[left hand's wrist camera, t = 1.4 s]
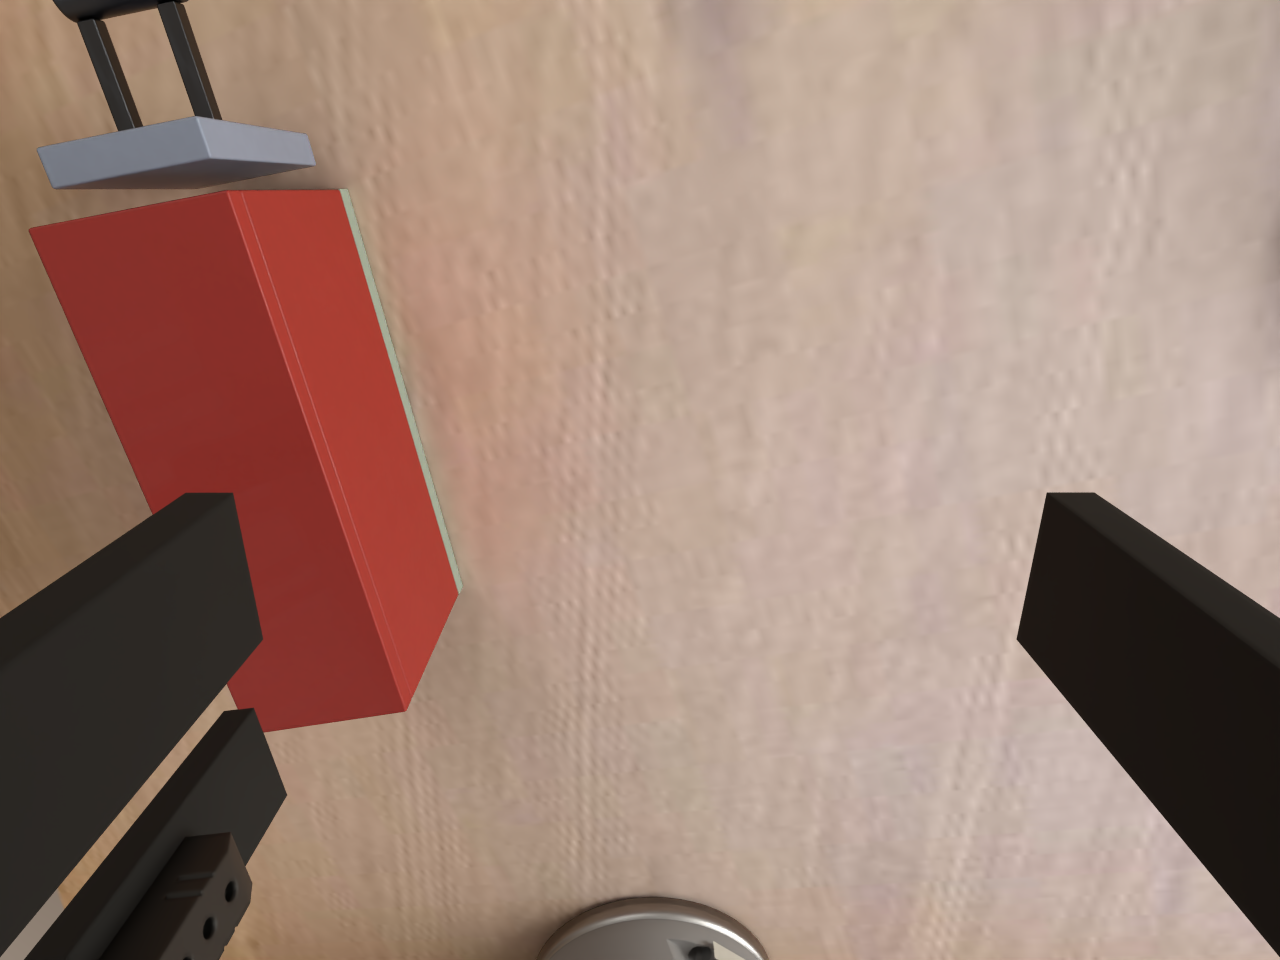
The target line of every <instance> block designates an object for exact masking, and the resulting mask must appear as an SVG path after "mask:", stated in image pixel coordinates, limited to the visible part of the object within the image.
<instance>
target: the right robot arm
mask: <svg viewBox="0 0 1280 960" xmlns="http://www.w3.org/2000/svg"><path fill="white" fill-rule="evenodd" d="M286 796H287V793H286V791H285V788H284V786H283V783H282V780H281V778H280V775H279V772H278V770H277V767H276V765H275V762H274V759H273V757H272V754H271V751H270V749H269V746H268V744H267V741H266V738H265V736H264V733H263V730H262V728H261V725H260V723H259V720H258V717H257V715H256V712H255V709H254V708H246V709H238V710H230V711H224V712H223V713H222V714H221V716H220V717H219V718H218V719H217V721H216V722H215V723H214V724H213V725H212V727H211V728H210V729H209V730H208V732H207V733H206V734H205V735H204V737H203V738H202V739H201V740H200V742H199V743H198V744H197V745H196V747H195V748H194V749H193V750H192V752H191V753H190V754H189V755H188V757H187V758H186V759H185V760H184V762H183V763H182V764H181V765H180V766H179V768H178V769H177V770H176V771H175V773H174V774H173V775H172V776H171V778H170V779H169V780H168V781H167V783H166V784H165V785H164V786H163V788H162V789H161V790H160V791H159V793H158V794H157V795H156V796H155V798H154V799H153V800H152V801H151V803H150V804H149V805H148V806H147V808H146V809H145V810H144V811H143V812H142V814H141V815H140V816H139V817H138V819H137V820H136V821H135V822H134V824H133V825H132V826H131V827H130V829H129V830H128V831H127V832H126V834H125V835H124V836H123V837H122V839H121V840H120V841H119V842H118V844H117V845H116V846H115V847H114V849H113V850H112V851H111V852H110V854H109V855H108V856H107V857H106V858H105V860H104V861H103V862H102V863H101V865H100V866H99V867H98V868H97V870H96V871H95V872H94V873H93V875H92V876H91V877H90V878H89V880H88V881H87V882H86V883H85V885H84V886H83V887H82V888H81V890H80V891H79V892H78V893H77V895H76V896H75V897H74V898H73V900H72V901H71V902H70V903H69V904H68V906H67V907H66V908H65V909H64V911H63V912H62V913H61V914H60V916H59V917H58V918H57V920H56V921H55V922H54V923H53V924H52V926H51V927H50V928H49V929H48V931H47V932H46V933H45V934H44V936H43V937H42V938H41V939H40V941H39V942H38V943H37V944H36V945H35V947H34V948H33V949H32V951H31V952H30V953H29V954H28V955H27V957H26V958H25V959H24V960H219V959H220V957H221V955H222V953H223V951H224V946H226V945H227V944H228V942H229V940H230V939H231V937H232V935H233V933H234V931H235V927H236V926H238V924H239V922H240V920H241V919H242V917H243V915H244V913H245V911H246V910H247V908H248V906H249V904H250V900H251V890H252V881H251V879H250V877H249V874H248V872H247V870H246V867H245V866H246V864H247V863H248V861H249V859H250V857H251V856H252V854H253V852H254V851H255V849H256V847H257V846H258V844H259V842H260V840H261V839H262V837H263V835H264V834H265V832H266V830H267V829H268V827H269V825H270V823H271V822H272V820H273V818H274V817H275V815H276V813H277V812H278V810H279V808H280V806H281V805H282V803H283V801H284V800H285V798H286ZM537 960H769V958H768V956H767V954H766V952H765V950H764V948H763V946H762V945H761V944H760V942H759V941H758V939H757V938H756V937H755V936H754V935H753V934H752V933H751V932H750V931H749V930H748V929H747V928H746V927H744V926H743V925H742V924H740V923H739V922H738V921H736V920H735V919H733V918H731V917H730V916H728V915H726V914H724V913H722V912H720V911H718V910H716V909H713V908H711V907H708V906H705V905H702V904H699V903H695V902H691V901H686V900H681V899H673V898H661V897H644V898H633V899H626V900H620V901H616V902H612V903H608V904H605V905H602V906H599V907H596V908H593V909H591V910H589V911H586V912H584V913H582V914H581V915H579V916H577V917H575V918H573V919H572V920H570V921H569V922H567V923H566V924H565V925H563V926H562V927H561V928H560V929H558V930H557V931H556V932H555V933H554V934H553V935H552V936H551V937H550V939H549V940H548V941H547V942H546V944H545V945H544V947H543V948H542V950H541V951H540V953H539V955H538V958H537Z"/></svg>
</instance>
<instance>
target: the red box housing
mask: <svg viewBox="0 0 1280 960" xmlns="http://www.w3.org/2000/svg"><path fill="white" fill-rule="evenodd" d="M29 233H30V235H31V237H32V240H33V242H34V244H35V247H36V249H37V251H38V253H39V256H40V258H41V260H42V263H43V265H44V267H45V269H46V272H47V274H48V276H49V279H50V281H51V283H52V285H53V288H54V290H55V292H56V295H57V297H58V299H59V302H60V304H61V306H62V308H63V311H64V313H65V315H66V318H67V320H68V322H69V324H70V327H71V329H72V331H73V334H74V336H75V338H76V340H77V343H78V345H79V347H80V350H81V352H82V354H83V356H84V359H85V361H86V363H87V366H88V368H89V370H90V372H91V375H92V377H93V379H94V382H95V384H96V386H97V388H98V391H99V393H100V395H101V398H102V400H103V402H104V404H105V407H106V409H107V411H108V414H109V416H110V418H111V420H112V423H113V425H114V427H115V430H116V432H117V434H118V436H119V439H120V441H121V443H122V446H123V448H124V450H125V452H126V455H127V457H128V459H129V462H130V464H131V466H132V468H133V471H134V473H135V475H136V478H137V480H138V482H139V484H140V487H141V489H142V491H143V494H144V496H145V498H146V500H147V503H148V505H149V507H150V510H151V512H152V514H155V513H156V512H158V511H159V510H161V509H162V508H164V507H165V506H167V505H168V504H170V503H171V502H173V501H174V500H175V499H177V498H178V497H180V496H181V495H183V494H184V493H233V494H234V499H235V504H236V509H237V514H238V519H239V524H240V528H241V533H242V538H243V543H244V548H245V553H246V558H247V562H248V567H249V572H250V577H251V582H252V587H253V591H254V596H255V601H256V606H257V611H258V616H259V621H260V625H261V630H262V635H263V640H262V642H261V643H260V644H259V645H258V646H257V648H256V649H255V650H254V651H253V652H252V654H251V655H250V656H249V657H248V658H247V660H246V661H245V662H244V663H243V665H242V666H241V667H240V668H239V669H238V671H237V672H236V673H235V674H234V675H233V677H232V678H231V679H230V680H229V681H228V683H227V686H228V688H229V690H230V692H231V695H232V697H233V699H234V702H235V704H236V706H237V708H238V709H246V708H254V709H255V712H256V715H257V717H258V720H259V723H260V725H261V728H262V730H263V732H270V731H277V730H284V729H290V728H297V727H304V726H311V725H318V724H324V723H331V722H338V721H345V720H351V719H358V718H365V717H372V716H378V715H385V714H392V713H399V712H405V711H406V710H407V708H408V706H409V704H410V701H411V698H412V697H413V695H414V692H415V690H416V688H417V686H418V683H419V681H420V679H421V677H422V674H423V672H424V670H425V668H426V665H427V663H428V661H429V659H430V656H431V654H432V652H433V650H434V647H435V645H436V643H437V641H438V638H439V636H440V634H441V632H442V629H443V627H444V625H445V623H446V620H447V618H448V616H449V614H450V612H451V609H452V607H453V605H454V603H455V600H456V598H457V596H458V594H460V591H461V589H462V587H463V585H462V581H461V578H460V574H459V571H458V568H457V564H456V561H455V557H454V554H453V550H452V547H451V543H450V540H449V537H448V533H447V530H446V526H445V523H444V519H443V516H442V512H441V509H440V506H439V502H438V499H437V495H436V492H435V488H434V485H433V482H432V478H431V475H430V471H429V468H428V464H427V461H426V457H425V454H424V451H423V447H422V444H421V440H420V437H419V433H418V430H417V426H416V423H415V420H414V416H413V413H412V409H411V406H410V402H409V399H408V395H407V392H406V389H405V385H404V382H403V378H402V375H401V371H400V368H399V365H398V361H397V358H396V354H395V351H394V347H393V344H392V340H391V337H390V334H389V330H388V327H387V323H386V320H385V316H384V313H383V309H382V306H381V303H380V299H379V296H378V292H377V289H376V285H375V282H374V279H373V275H372V272H371V268H370V265H369V261H368V258H367V254H366V251H365V248H364V244H363V241H362V237H361V234H360V230H359V227H358V223H357V220H356V217H355V213H354V210H353V206H352V203H351V199H350V196H349V193H348V189H337V190H225V191H220V192H214V193H209V194H204V195H199V196H194V197H189V198H183V199H178V200H173V201H168V202H163V203H158V204H152V205H147V206H142V207H137V208H132V209H126V210H121V211H116V212H111V213H106V214H101V215H95V216H90V217H85V218H80V219H75V220H70V221H64V222H59V223H54V224H49V225H44V226H39V227H33V228H30V229H29Z"/></svg>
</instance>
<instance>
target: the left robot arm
mask: <svg viewBox="0 0 1280 960" xmlns="http://www.w3.org/2000/svg"><path fill="white" fill-rule="evenodd" d="M262 640H263V635H262V630H261V625H260V621H259V616H258V611H257V606H256V601H255V596H254V591H253V587H252V582H251V577H250V572H249V567H248V562H247V558H246V553H245V548H244V543H243V538H242V533H241V528H240V524H239V519H238V514H237V509H236V504H235V499H234V494H233V493H184V494H183V495H181V496H180V497H178V498H177V499H175V500H174V501H173V502H171V503H170V504H168V505H167V506H165V507H164V508H162V509H161V510H159V511H158V512H156V513H155V514H153V515H152V516H150V517H149V518H147V519H146V520H145V521H143V522H142V523H140V524H139V525H137V526H136V527H134V528H133V529H131V530H130V531H128V532H127V533H125V534H124V535H122V536H121V537H119V538H118V539H116V540H115V541H114V542H112V543H111V544H109V545H108V546H106V547H105V548H103V549H102V550H100V551H99V552H97V553H96V554H94V555H93V556H91V557H90V558H88V559H87V560H86V561H84V562H83V563H81V564H80V565H78V566H77V567H75V568H74V569H72V570H71V571H69V572H68V573H66V574H65V575H63V576H62V577H60V578H59V579H57V580H56V581H55V582H53V583H52V584H50V585H49V586H47V587H46V588H44V589H43V590H41V591H40V592H38V593H37V594H35V595H34V596H32V597H31V598H29V599H28V600H27V601H25V602H24V603H22V604H21V605H19V606H18V607H16V608H15V609H13V610H12V611H10V612H9V613H7V614H6V615H4V616H3V617H1V618H0V957H1V955H2V954H3V953H4V952H5V951H6V949H7V948H8V947H9V946H10V945H11V943H12V942H13V941H14V940H15V939H16V937H17V936H18V935H19V934H20V933H21V931H22V930H23V929H24V928H25V927H26V925H27V924H28V923H29V922H30V920H31V919H32V918H33V917H34V916H35V914H36V913H37V912H38V911H39V910H40V908H41V907H42V906H43V905H44V904H45V902H46V901H47V900H48V899H49V897H50V896H51V895H52V894H53V893H54V891H55V890H56V889H57V888H58V887H59V885H60V884H61V883H62V882H63V881H64V879H65V878H66V877H67V876H68V875H69V873H70V872H71V871H72V870H73V869H74V867H75V866H76V865H77V864H78V863H79V861H80V860H81V859H82V858H83V856H84V855H85V854H86V853H87V852H88V850H89V849H90V848H91V847H92V846H93V844H94V843H95V842H96V841H97V840H98V838H99V837H100V836H101V835H102V834H103V832H104V831H105V830H106V829H107V828H108V826H109V825H110V824H111V823H112V821H113V820H114V819H115V818H116V817H117V815H118V814H119V813H120V812H121V811H122V809H123V808H124V807H125V806H126V805H127V803H128V802H129V801H130V800H131V799H132V797H133V796H134V795H135V794H136V792H137V791H138V790H139V789H140V788H141V786H142V785H143V784H144V783H145V782H146V780H147V779H148V778H149V777H150V776H151V774H152V773H153V772H154V771H155V770H156V768H157V767H158V766H159V765H160V764H161V762H162V761H163V760H164V759H165V757H166V756H167V755H168V754H169V753H170V751H171V750H172V749H173V748H174V747H175V745H176V744H177V743H178V742H179V741H180V739H181V738H182V737H183V736H184V735H185V733H186V732H187V731H188V730H189V728H190V727H191V726H192V725H193V724H194V722H195V721H196V720H197V719H198V718H199V716H200V715H201V714H202V713H203V712H204V710H205V709H206V708H207V707H208V706H209V704H210V703H211V702H212V701H213V700H214V698H215V697H216V696H217V695H218V693H219V692H220V691H221V690H222V689H223V687H224V686H225V685H226V684H227V683H228V681H229V680H230V679H231V678H232V677H233V675H234V674H235V673H236V672H237V671H238V669H239V668H240V667H241V666H242V665H243V663H244V662H245V661H246V660H247V658H248V657H249V656H250V655H251V654H252V652H253V651H254V650H255V649H256V648H257V646H258V645H259V644H260V643H261V642H262ZM1017 640H1018V642H1019V643H1020V644H1021V645H1022V646H1023V648H1024V649H1025V650H1026V651H1027V652H1028V654H1029V655H1030V656H1031V657H1032V658H1033V660H1034V661H1035V662H1036V663H1037V665H1038V666H1039V667H1040V668H1041V669H1042V671H1043V672H1044V673H1045V674H1046V675H1047V677H1048V678H1049V679H1050V680H1051V681H1052V683H1053V684H1054V685H1055V686H1056V687H1057V689H1058V690H1059V691H1060V692H1061V693H1062V695H1063V696H1064V697H1065V698H1066V700H1067V701H1068V702H1069V703H1070V704H1071V706H1072V707H1073V708H1074V709H1075V710H1076V712H1077V713H1078V714H1079V715H1080V716H1081V718H1082V719H1083V720H1084V721H1085V722H1086V724H1087V725H1088V726H1089V727H1090V729H1091V730H1092V731H1093V732H1094V733H1095V735H1096V736H1097V737H1098V738H1099V739H1100V741H1101V742H1102V743H1103V744H1104V745H1105V747H1106V748H1107V749H1108V750H1109V751H1110V753H1111V754H1112V755H1113V756H1114V757H1115V759H1116V760H1117V761H1118V762H1119V764H1120V765H1121V766H1122V767H1123V768H1124V770H1125V771H1126V772H1127V773H1128V774H1129V776H1130V777H1131V778H1132V779H1133V780H1134V782H1135V783H1136V784H1137V785H1138V786H1139V788H1140V789H1141V790H1142V791H1143V792H1144V794H1145V795H1146V796H1147V797H1148V799H1149V800H1150V801H1151V802H1152V803H1153V805H1154V806H1155V807H1156V808H1157V809H1158V811H1159V812H1160V813H1161V814H1162V815H1163V817H1164V818H1165V819H1166V820H1167V821H1168V823H1169V824H1170V825H1171V826H1172V828H1173V829H1174V830H1175V831H1176V832H1177V834H1178V835H1179V836H1180V837H1181V838H1182V840H1183V841H1184V842H1185V843H1186V844H1187V846H1188V847H1189V848H1190V849H1191V850H1192V852H1193V853H1194V854H1195V855H1196V856H1197V858H1198V859H1199V860H1200V861H1201V863H1202V864H1203V865H1204V866H1205V867H1206V869H1207V870H1208V871H1209V872H1210V873H1211V875H1212V876H1213V877H1214V878H1215V879H1216V881H1217V882H1218V883H1219V884H1220V885H1221V887H1222V888H1223V889H1224V890H1225V892H1226V893H1227V894H1228V895H1229V896H1230V898H1231V899H1232V900H1233V901H1234V902H1235V904H1236V905H1237V906H1238V907H1239V908H1240V910H1241V911H1242V912H1243V913H1244V914H1245V916H1246V917H1247V918H1248V919H1249V920H1250V922H1251V923H1252V924H1253V925H1254V927H1255V928H1256V929H1257V930H1258V931H1259V933H1260V934H1261V935H1262V936H1263V937H1264V939H1265V940H1266V941H1267V942H1268V943H1269V945H1270V946H1271V947H1272V948H1273V949H1274V951H1275V952H1276V953H1277V954H1278V956H1279V957H1280V618H1279V617H1277V616H1276V615H1274V614H1273V613H1271V612H1270V611H1268V610H1267V609H1265V608H1264V607H1262V606H1261V605H1259V604H1258V603H1256V602H1255V601H1253V600H1252V599H1251V598H1249V597H1248V596H1246V595H1245V594H1243V593H1242V592H1240V591H1239V590H1237V589H1236V588H1234V587H1233V586H1231V585H1230V584H1228V583H1227V582H1225V581H1224V580H1223V579H1221V578H1220V577H1218V576H1217V575H1215V574H1214V573H1212V572H1211V571H1209V570H1208V569H1206V568H1205V567H1203V566H1202V565H1200V564H1199V563H1197V562H1196V561H1194V560H1193V559H1192V558H1190V557H1189V556H1187V555H1186V554H1184V553H1183V552H1181V551H1180V550H1178V549H1177V548H1175V547H1174V546H1172V545H1171V544H1169V543H1168V542H1166V541H1165V540H1164V539H1162V538H1161V537H1159V536H1158V535H1156V534H1155V533H1153V532H1152V531H1150V530H1149V529H1147V528H1146V527H1144V526H1143V525H1141V524H1140V523H1138V522H1137V521H1135V520H1134V519H1133V518H1131V517H1130V516H1128V515H1127V514H1125V513H1124V512H1122V511H1121V510H1119V509H1118V508H1116V507H1115V506H1113V505H1112V504H1110V503H1109V502H1107V501H1106V500H1105V499H1103V498H1102V497H1100V496H1099V495H1097V494H1096V493H1047V494H1046V499H1045V504H1044V509H1043V514H1042V519H1041V524H1040V528H1039V533H1038V538H1037V543H1036V548H1035V553H1034V557H1033V562H1032V567H1031V572H1030V577H1029V582H1028V587H1027V591H1026V596H1025V601H1024V606H1023V611H1022V616H1021V621H1020V625H1019V630H1018V635H1017Z"/></svg>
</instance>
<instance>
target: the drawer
mask: <svg viewBox="0 0 1280 960" xmlns="http://www.w3.org/2000/svg"><path fill="white" fill-rule="evenodd" d="M187 1H188V0H53V2H54V3H55V4H56V6H57V7H58V8H59V10H60V11H61V12H62V13H63V14H64V15H65V16H66V17H67V18H69V19H70V20H72V21H73V22H76V23H77V24H78V27H79V29H80V32H81V35H82V37H83V40H84V42H85V45H86V48H87V50H88V53H89V56H90V58H91V61H92V63H93V66H94V69H95V71H96V74H97V77H98V79H99V82H100V84H101V87H102V90H103V92H104V95H105V98H106V100H107V103H108V105H109V108H110V111H111V113H112V116H113V119H114V121H115V124H116V126H117V129H118V132H113V133H108V134H103V135H98V136H93V137H88V138H83V139H78V140H73V141H68V142H63V143H58V144H53V145H48V146H43V147H39V148H37V152H38V154H39V157H40V159H41V162H42V164H43V166H44V169H45V171H46V174H47V176H48V178H49V181H50V183H51V185H52V187H53V188H54V189H198V188H204V187H209V186H214V185H219V184H224V183H229V182H234V181H240V180H245V179H250V178H255V177H260V176H265V175H271V174H276V173H281V172H286V171H291V170H296V169H302V168H307V167H312V166H315V165H316V162H315V159H314V156H313V152H312V149H311V146H310V143H309V139H308V136H307V134H304V133H298V132H292V131H285V130H279V129H273V128H267V127H261V126H254V125H248V124H242V123H236V122H230V121H224V120H222V118H221V115H220V112H219V109H218V106H217V103H216V100H215V97H214V94H213V91H212V88H211V85H210V82H209V79H208V76H207V73H206V70H205V67H204V64H203V61H202V58H201V55H200V52H199V49H198V46H197V43H196V40H195V37H194V34H193V31H192V28H191V25H190V22H189V19H188V16H187V13H186V10H185V7H184V5H183V4H181V3H183V2H187ZM155 8H158V10H159V13H160V16H161V19H162V22H163V25H164V27H165V30H166V33H167V36H168V39H169V42H170V45H171V48H172V51H173V53H174V56H175V59H176V62H177V65H178V68H179V71H180V74H181V77H182V79H183V82H184V85H185V88H186V91H187V94H188V97H189V100H190V103H191V105H192V108H193V111H194V114H195V116H193V117H188V118H183V119H178V120H173V121H168V122H163V123H158V124H153V125H148V126H143V125H142V122H141V119H140V116H139V114H138V111H137V108H136V106H135V103H134V100H133V98H132V95H131V92H130V89H129V87H128V84H127V81H126V79H125V76H124V73H123V70H122V68H121V65H120V62H119V60H118V57H117V54H116V52H115V49H114V46H113V43H112V41H111V38H110V35H109V33H108V30H107V27H106V24H105V23H104V21H101V20H102V19H107V18H112V17H117V16H121V15H126V14H131V13H136V12H140V11H145V10H150V9H155Z"/></svg>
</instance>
